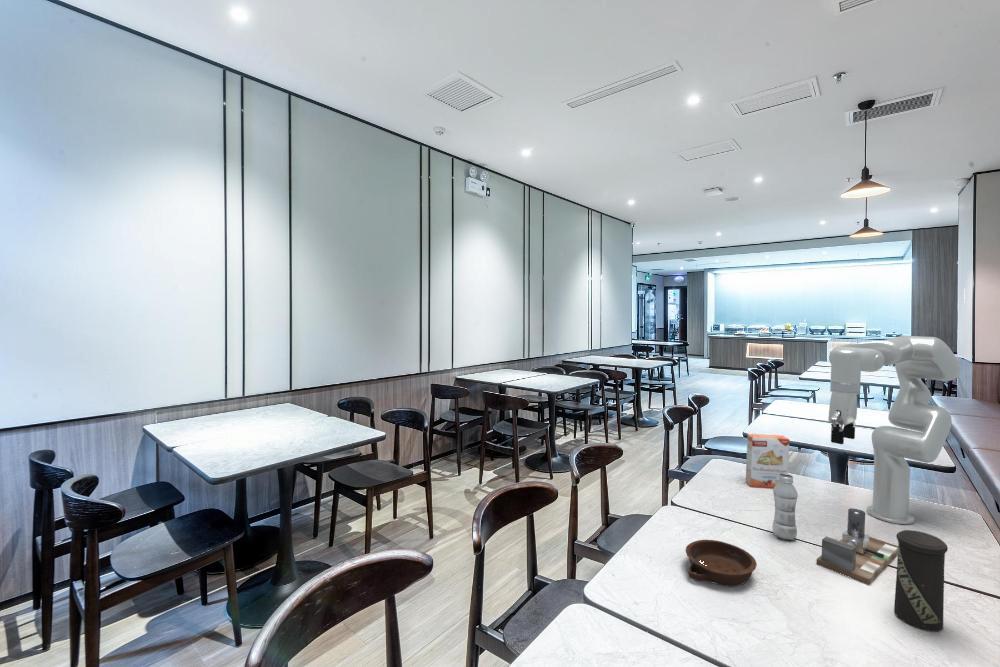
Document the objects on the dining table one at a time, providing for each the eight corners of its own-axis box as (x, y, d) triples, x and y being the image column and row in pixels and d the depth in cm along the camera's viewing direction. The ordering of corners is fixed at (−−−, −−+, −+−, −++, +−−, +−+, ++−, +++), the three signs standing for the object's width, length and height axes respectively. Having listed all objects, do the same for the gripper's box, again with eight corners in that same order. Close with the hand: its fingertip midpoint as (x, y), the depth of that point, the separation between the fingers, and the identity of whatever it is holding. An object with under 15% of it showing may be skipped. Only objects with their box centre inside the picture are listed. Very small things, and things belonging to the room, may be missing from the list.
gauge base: (851, 535, 144) (852, 512, 143) (900, 551, 134) (901, 527, 133) (816, 564, 127) (817, 538, 127) (869, 585, 118) (870, 557, 117)
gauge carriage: (848, 541, 136) (849, 506, 136) (886, 554, 129) (888, 517, 128) (834, 552, 130) (836, 515, 129) (874, 567, 122) (875, 528, 122)
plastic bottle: (800, 543, 139) (802, 480, 138) (776, 541, 140) (778, 478, 139) (791, 533, 145) (793, 472, 144) (768, 531, 146) (770, 471, 145)
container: (882, 608, 109) (886, 527, 108) (916, 606, 109) (920, 526, 108) (919, 633, 100) (923, 546, 99) (955, 631, 101) (960, 544, 100)
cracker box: (750, 487, 182) (752, 437, 181) (745, 482, 188) (746, 433, 187) (788, 489, 180) (790, 438, 179) (781, 484, 186) (783, 434, 185)
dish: (774, 577, 122) (775, 559, 121) (723, 603, 111) (724, 583, 110) (716, 547, 137) (716, 531, 136) (666, 568, 126) (666, 550, 126)
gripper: (840, 383, 151) (839, 433, 152) (820, 388, 141) (818, 442, 142) (868, 386, 145) (866, 438, 146) (849, 392, 135) (847, 448, 136)
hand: (842, 440), depth 144 cm, fingers open, 9 cm apart
